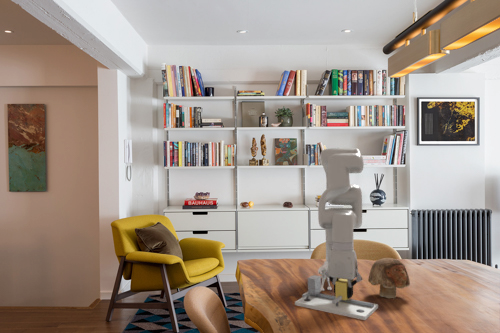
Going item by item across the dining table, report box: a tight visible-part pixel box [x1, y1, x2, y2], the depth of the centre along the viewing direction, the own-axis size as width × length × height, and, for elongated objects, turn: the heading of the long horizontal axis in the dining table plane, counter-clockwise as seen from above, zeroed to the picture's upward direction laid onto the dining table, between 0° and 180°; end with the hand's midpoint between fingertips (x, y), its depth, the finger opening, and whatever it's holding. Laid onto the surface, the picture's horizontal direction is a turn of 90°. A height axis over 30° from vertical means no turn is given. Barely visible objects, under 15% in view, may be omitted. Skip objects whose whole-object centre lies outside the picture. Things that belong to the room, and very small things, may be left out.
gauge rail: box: [301, 274, 375, 308], centre depth 140 cm, size 12×25×7 cm, turn 55°
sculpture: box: [367, 257, 411, 299], centre depth 150 cm, size 15×16×15 cm
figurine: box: [317, 260, 333, 292], centre depth 160 cm, size 7×4×12 cm, turn 108°
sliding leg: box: [332, 279, 348, 306], centre depth 139 cm, size 12×4×7 cm, turn 145°
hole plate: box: [294, 296, 379, 321], centre depth 140 cm, size 14×26×1 cm, turn 55°
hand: (343, 295), depth 142 cm, fingers closed on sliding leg, 4 cm apart
